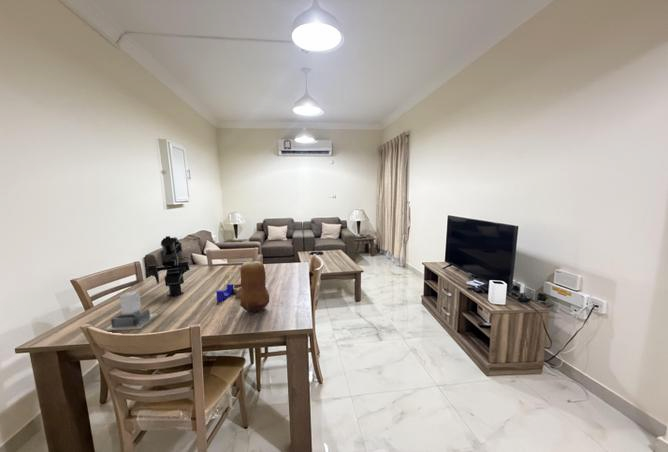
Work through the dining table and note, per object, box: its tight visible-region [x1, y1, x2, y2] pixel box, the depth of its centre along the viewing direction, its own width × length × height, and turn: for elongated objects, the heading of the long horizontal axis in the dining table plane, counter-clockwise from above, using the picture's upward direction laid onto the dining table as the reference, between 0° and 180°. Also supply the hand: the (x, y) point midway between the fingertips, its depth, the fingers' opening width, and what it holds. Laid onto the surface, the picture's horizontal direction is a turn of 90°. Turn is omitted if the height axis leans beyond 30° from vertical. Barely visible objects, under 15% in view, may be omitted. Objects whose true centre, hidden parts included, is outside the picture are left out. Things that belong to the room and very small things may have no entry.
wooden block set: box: [233, 281, 242, 299], centre depth 158 cm, size 17×6×18 cm
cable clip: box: [216, 283, 235, 303], centre depth 149 cm, size 12×4×6 cm, turn 171°
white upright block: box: [119, 291, 142, 318], centre depth 119 cm, size 5×5×13 cm
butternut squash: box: [239, 260, 270, 313], centre depth 129 cm, size 14×13×25 cm
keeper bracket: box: [105, 309, 159, 331], centre depth 120 cm, size 13×14×4 cm
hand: (168, 282), depth 135 cm, fingers open, 9 cm apart
